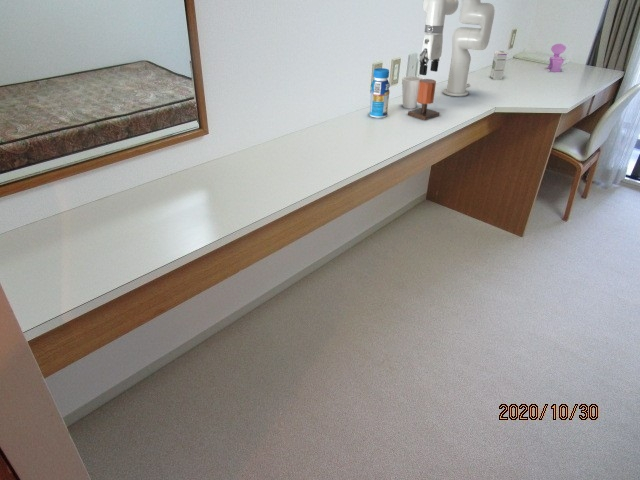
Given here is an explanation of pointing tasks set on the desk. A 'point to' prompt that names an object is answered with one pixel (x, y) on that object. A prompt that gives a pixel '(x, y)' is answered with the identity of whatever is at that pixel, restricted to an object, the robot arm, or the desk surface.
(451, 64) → the robot arm
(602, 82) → the desk surface
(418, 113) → the holder
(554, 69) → the pink figurine
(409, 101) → the foam cup
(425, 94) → the cup
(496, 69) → the syrup box
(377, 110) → the beverage bottle
